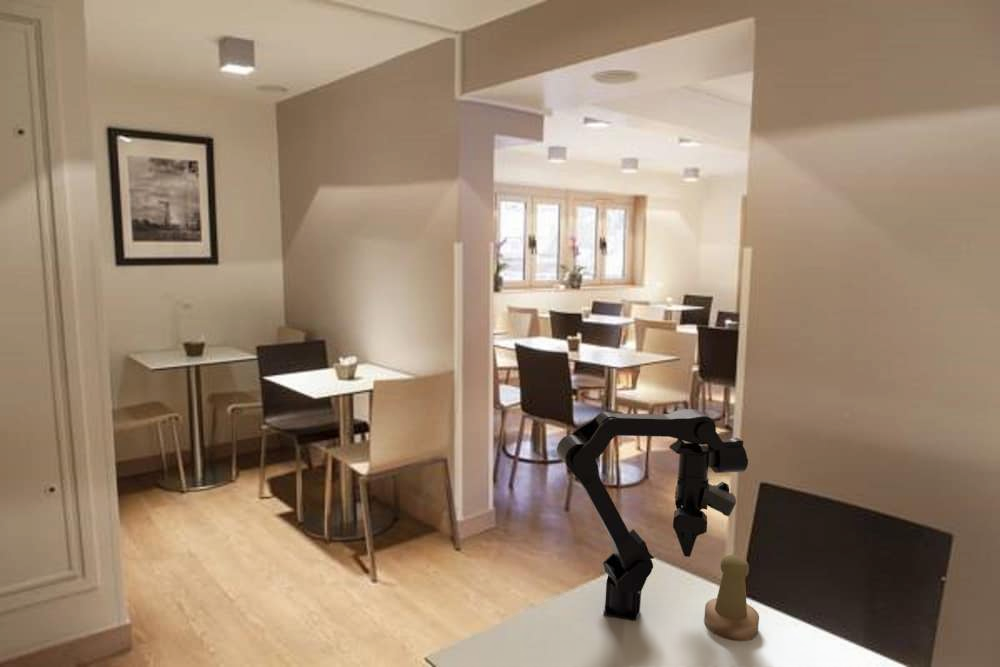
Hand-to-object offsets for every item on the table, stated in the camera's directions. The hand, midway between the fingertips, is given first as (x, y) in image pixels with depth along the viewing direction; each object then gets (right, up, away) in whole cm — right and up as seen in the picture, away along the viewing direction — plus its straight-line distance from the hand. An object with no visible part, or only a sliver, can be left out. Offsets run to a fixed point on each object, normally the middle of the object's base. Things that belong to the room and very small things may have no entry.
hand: (687, 546), depth 134 cm
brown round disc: (+7, -14, -5) cm, 16 cm away
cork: (+7, -11, -5) cm, 14 cm away
